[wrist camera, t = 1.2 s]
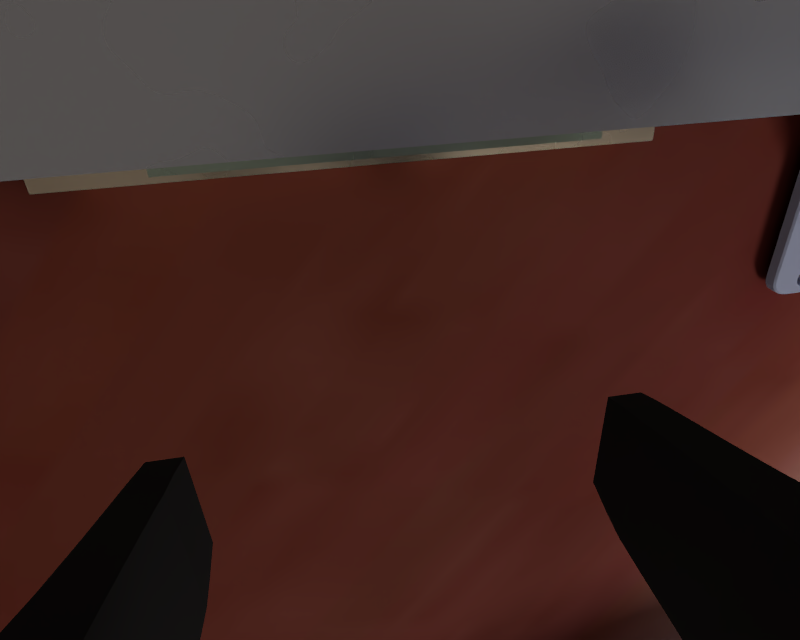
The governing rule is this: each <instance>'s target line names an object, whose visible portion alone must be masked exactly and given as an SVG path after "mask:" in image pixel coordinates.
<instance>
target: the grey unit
mask: <svg viewBox="0 0 800 640" xmlns="http://www.w3.org/2000/svg"><path fill="white" fill-rule="evenodd" d="M799 114H800V0H0V181H11V180H23V179H24V182H25V185H26V187H27V190H28V192H29V194H40V193H51V192H63V191H74V190H86V189H97V188H109V187H121V186H132V185H144V184H155V183H167V182H178V181H190V180H201V179H213V178H224V177H236V176H248V175H259V174H271V173H282V172H294V171H305V170H317V169H328V168H340V167H351V166H363V165H374V164H386V163H398V162H409V161H421V160H432V159H444V158H455V157H467V156H478V155H490V154H501V153H513V152H524V151H536V150H548V149H559V148H571V147H582V146H594V145H605V144H617V143H628V142H640V141H651V140H653V135H654V129H655V127H656V126H668V125H680V124H692V123H704V122H716V121H728V120H740V119H751V118H763V117H775V116H787V115H799Z"/></svg>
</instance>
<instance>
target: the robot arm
mask: <svg viewBox="0 0 800 640" xmlns="http://www.w3.org/2000/svg"><path fill="white" fill-rule="evenodd" d="M799 275H800V171H799V174H798V177H797V180H796V183H795V187H794V190H793V193H792V196H791V199H790V203H789V206H788V209H787V212H786V215H785V219H784V222H783V225H782V228H781V231H780V235H779V238H778V241H777V244H776V247H775V251H774V254H773V257H772V260H771V263H770V266H769V270H768V273H767V276H766V285H767V287H768V288H770V289H771V290H773V291H775V292H777V293H778V294H789V293H797V292H800V277H799ZM593 483H594V485H595V487H596V489H597V492H598V494H599V496H600V498H601V501H602V503H603V505H604V507H605V510H606V512H607V514H608V516H609V518H610V520H611V522H612V524H613V526H614V528H615V530H616V532H617V534H618V536H619V538H620V540H621V541H622V543H623V545H624V546H625V548H626V550H627V551H628V553H629V555H630V556H631V558H632V560H633V561H634V563H635V564H636V566H637V568H638V569H639V571H640V573H641V574H642V576H643V577H644V579H645V581H646V582H647V584H648V585H649V587H650V589H651V590H652V592H653V593H654V595H655V597H656V598H657V600H658V601H659V603H660V605H661V606H662V608H663V609H664V611H665V613H666V614H667V616H668V617H669V619H670V621H671V622H672V624H673V625H674V627H675V628H676V630H677V632H678V633H679V635H680V636H681V638H682V640H800V482H798V481H796V480H795V479H793V478H791V477H789V476H787V475H785V474H784V473H782V472H780V471H778V470H776V469H775V468H773V467H771V466H769V465H767V464H766V463H764V462H762V461H760V460H759V459H757V458H755V457H753V456H752V455H750V454H748V453H746V452H745V451H743V450H741V449H739V448H738V447H736V446H734V445H732V444H731V443H729V442H727V441H726V440H724V439H722V438H720V437H719V436H717V435H715V434H714V433H712V432H710V431H708V430H707V429H705V428H703V427H702V426H700V425H698V424H696V423H695V422H693V421H691V420H690V419H688V418H686V417H684V416H683V415H681V414H679V413H678V412H676V411H674V410H672V409H671V408H669V407H667V406H665V405H664V404H662V403H660V402H658V401H656V400H654V399H653V398H651V397H649V396H647V395H645V394H643V393H634V394H627V395H620V396H613V397H608V401H607V407H606V412H605V418H604V424H603V429H602V435H601V441H600V447H599V452H598V458H597V464H596V469H595V475H594V481H593ZM212 546H213V542H212V539H211V536H210V533H209V530H208V527H207V524H206V521H205V518H204V515H203V512H202V509H201V506H200V503H199V500H198V497H197V494H196V491H195V488H194V485H193V482H192V479H191V476H190V473H189V470H188V467H187V464H186V461H185V458H184V457H180V458H173V459H166V460H159V461H152V462H145V463H144V464H143V465H142V467H141V468H140V469H139V470H138V471H137V473H136V474H135V475H134V476H133V477H132V478H131V480H130V481H129V482H128V483H127V484H126V486H125V487H124V488H123V489H122V490H121V492H120V493H119V494H118V495H117V497H116V498H115V499H114V500H113V502H112V503H111V504H110V505H109V506H108V508H107V509H106V510H105V511H104V513H103V514H102V515H101V516H100V517H99V519H98V520H97V521H96V522H95V524H94V525H93V526H92V527H91V528H90V530H89V531H88V532H87V533H86V535H85V536H84V537H83V538H82V539H81V541H80V542H79V543H78V544H77V545H76V547H75V548H74V549H73V550H72V551H71V552H70V554H69V555H68V556H67V557H66V558H65V560H64V561H63V562H62V563H61V564H60V565H59V567H58V568H57V569H56V570H55V571H54V573H53V574H52V575H51V576H50V577H49V578H48V580H47V581H46V582H45V583H44V584H43V586H42V587H41V588H40V589H39V590H38V591H37V593H36V594H35V595H34V596H33V597H32V598H31V599H30V601H29V602H28V603H27V604H26V605H25V606H24V607H23V608H22V609H21V610H20V612H19V613H18V614H17V615H16V616H15V617H14V618H13V619H12V620H11V621H10V623H9V624H8V625H7V626H6V627H5V628H4V629H3V630H2V631H1V632H0V640H200V637H201V632H202V628H203V623H204V618H205V613H206V608H207V600H208V590H209V581H210V570H211V558H212Z"/></svg>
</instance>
